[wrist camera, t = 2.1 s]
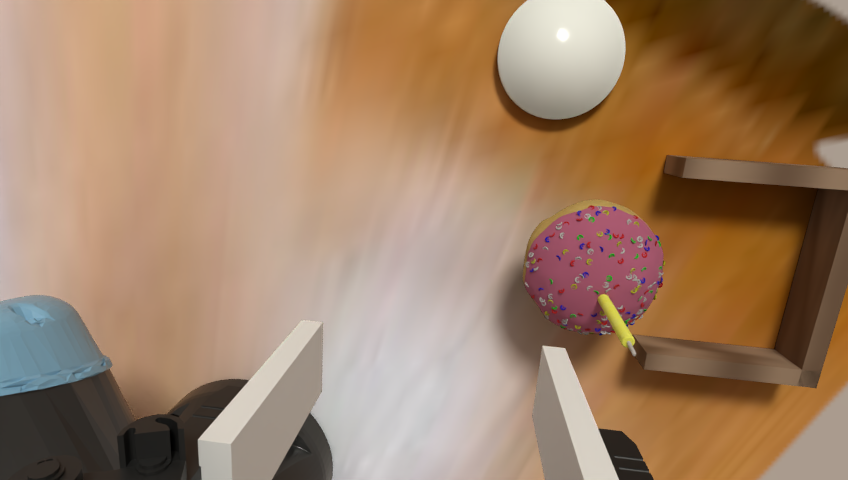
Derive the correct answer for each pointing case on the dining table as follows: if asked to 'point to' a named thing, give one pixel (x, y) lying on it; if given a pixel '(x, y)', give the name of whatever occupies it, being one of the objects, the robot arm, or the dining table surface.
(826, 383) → the dining table surface
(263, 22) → the dining table surface
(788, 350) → the bay
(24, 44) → the dining table surface
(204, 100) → the dining table surface
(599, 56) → the white round domed disc
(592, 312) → the cupcake
